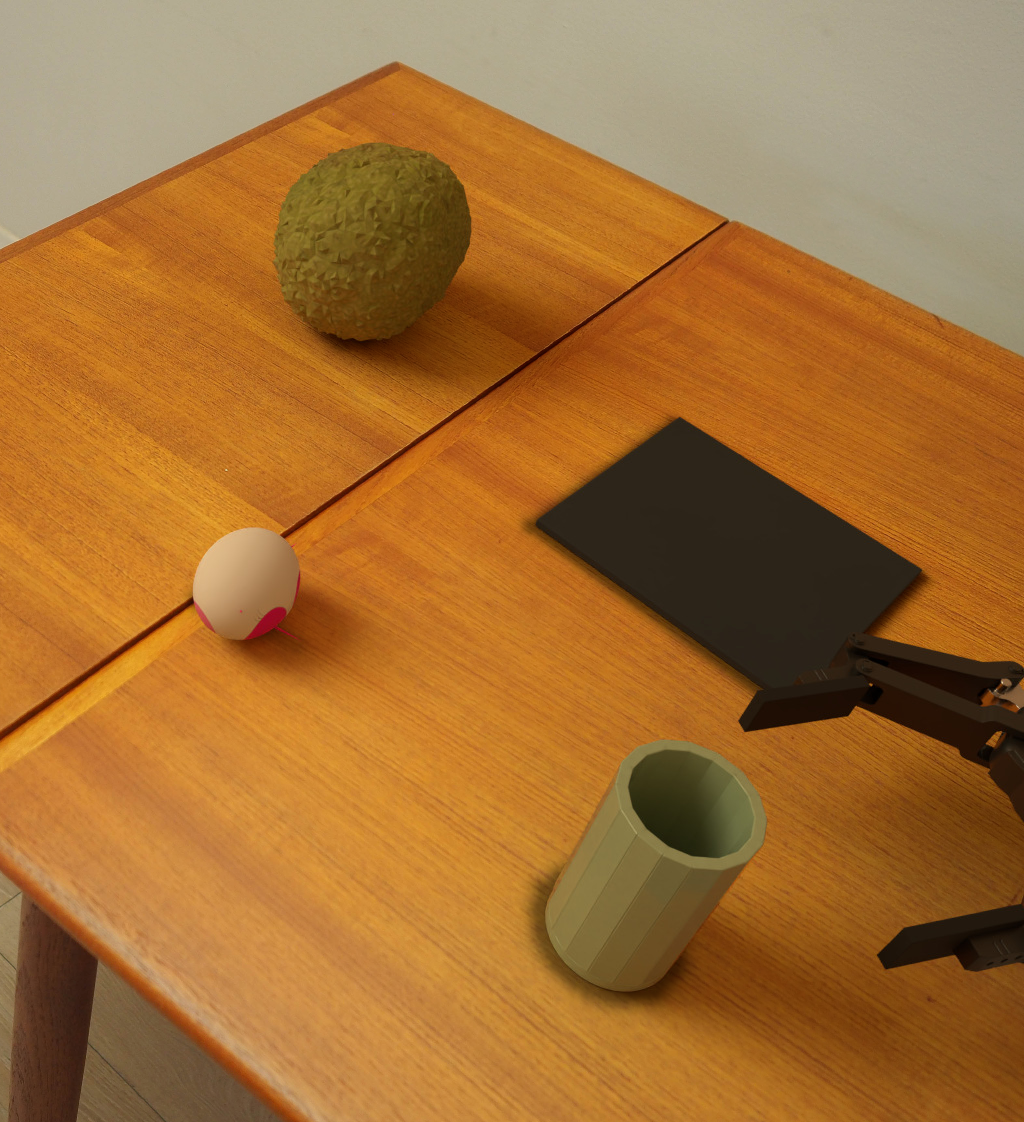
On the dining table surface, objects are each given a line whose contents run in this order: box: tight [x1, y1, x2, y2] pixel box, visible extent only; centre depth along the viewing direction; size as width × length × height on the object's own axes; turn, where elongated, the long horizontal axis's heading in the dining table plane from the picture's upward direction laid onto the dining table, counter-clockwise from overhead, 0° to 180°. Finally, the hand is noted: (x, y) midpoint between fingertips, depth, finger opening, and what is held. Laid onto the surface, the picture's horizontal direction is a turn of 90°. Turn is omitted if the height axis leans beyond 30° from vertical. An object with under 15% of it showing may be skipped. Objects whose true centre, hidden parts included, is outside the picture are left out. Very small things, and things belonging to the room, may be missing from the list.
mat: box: [534, 416, 923, 690], centre depth 87 cm, size 20×18×1 cm
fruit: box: [271, 142, 473, 342], centre depth 96 cm, size 16×14×15 cm
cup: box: [544, 738, 768, 992], centre depth 61 cm, size 7×7×12 cm
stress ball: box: [192, 526, 302, 642], centre depth 76 cm, size 8×8×7 cm
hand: (816, 822), depth 63 cm, fingers open, 13 cm apart
